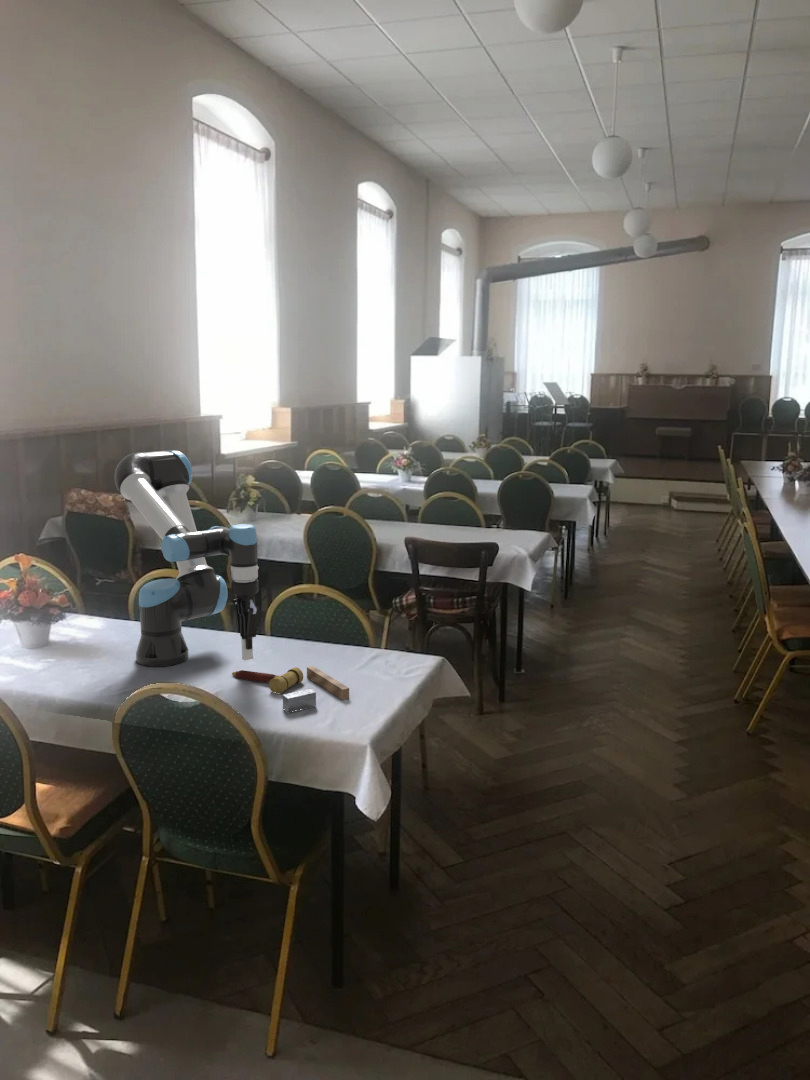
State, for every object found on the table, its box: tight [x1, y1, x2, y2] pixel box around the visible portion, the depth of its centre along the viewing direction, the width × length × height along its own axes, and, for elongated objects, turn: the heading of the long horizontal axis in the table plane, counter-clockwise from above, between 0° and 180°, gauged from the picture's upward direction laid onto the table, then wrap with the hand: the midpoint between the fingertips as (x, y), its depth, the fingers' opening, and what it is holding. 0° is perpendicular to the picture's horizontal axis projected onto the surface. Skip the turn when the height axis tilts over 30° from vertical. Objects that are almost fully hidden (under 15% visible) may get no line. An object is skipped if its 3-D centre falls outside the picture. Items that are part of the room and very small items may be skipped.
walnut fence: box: [306, 665, 350, 701], centre depth 234 cm, size 20×2×3 cm, turn 35°
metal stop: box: [282, 688, 317, 713], centre depth 220 cm, size 3×8×4 cm, turn 124°
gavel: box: [231, 667, 304, 694], centre depth 238 cm, size 21×5×10 cm
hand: (247, 658), depth 246 cm, fingers closed
